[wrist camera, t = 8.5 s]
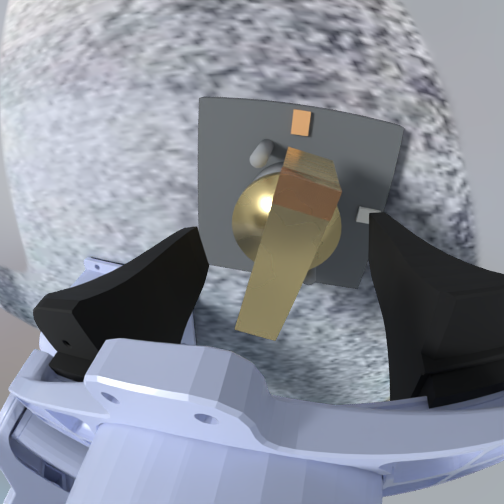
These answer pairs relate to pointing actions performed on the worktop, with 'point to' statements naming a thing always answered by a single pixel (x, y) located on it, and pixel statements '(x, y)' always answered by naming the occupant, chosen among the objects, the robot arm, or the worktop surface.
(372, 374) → the worktop surface
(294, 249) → the lever handle
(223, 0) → the worktop surface
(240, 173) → the post base
